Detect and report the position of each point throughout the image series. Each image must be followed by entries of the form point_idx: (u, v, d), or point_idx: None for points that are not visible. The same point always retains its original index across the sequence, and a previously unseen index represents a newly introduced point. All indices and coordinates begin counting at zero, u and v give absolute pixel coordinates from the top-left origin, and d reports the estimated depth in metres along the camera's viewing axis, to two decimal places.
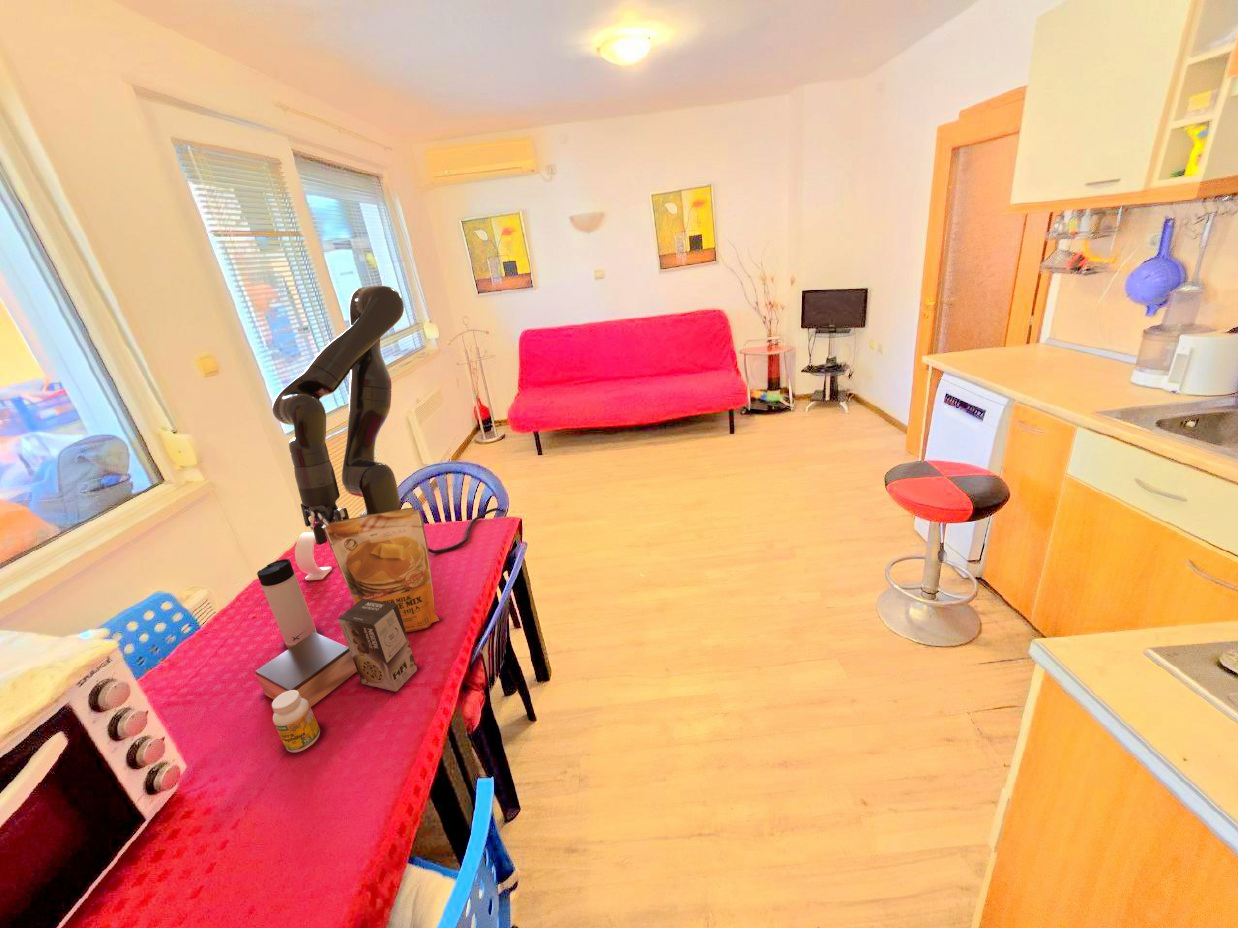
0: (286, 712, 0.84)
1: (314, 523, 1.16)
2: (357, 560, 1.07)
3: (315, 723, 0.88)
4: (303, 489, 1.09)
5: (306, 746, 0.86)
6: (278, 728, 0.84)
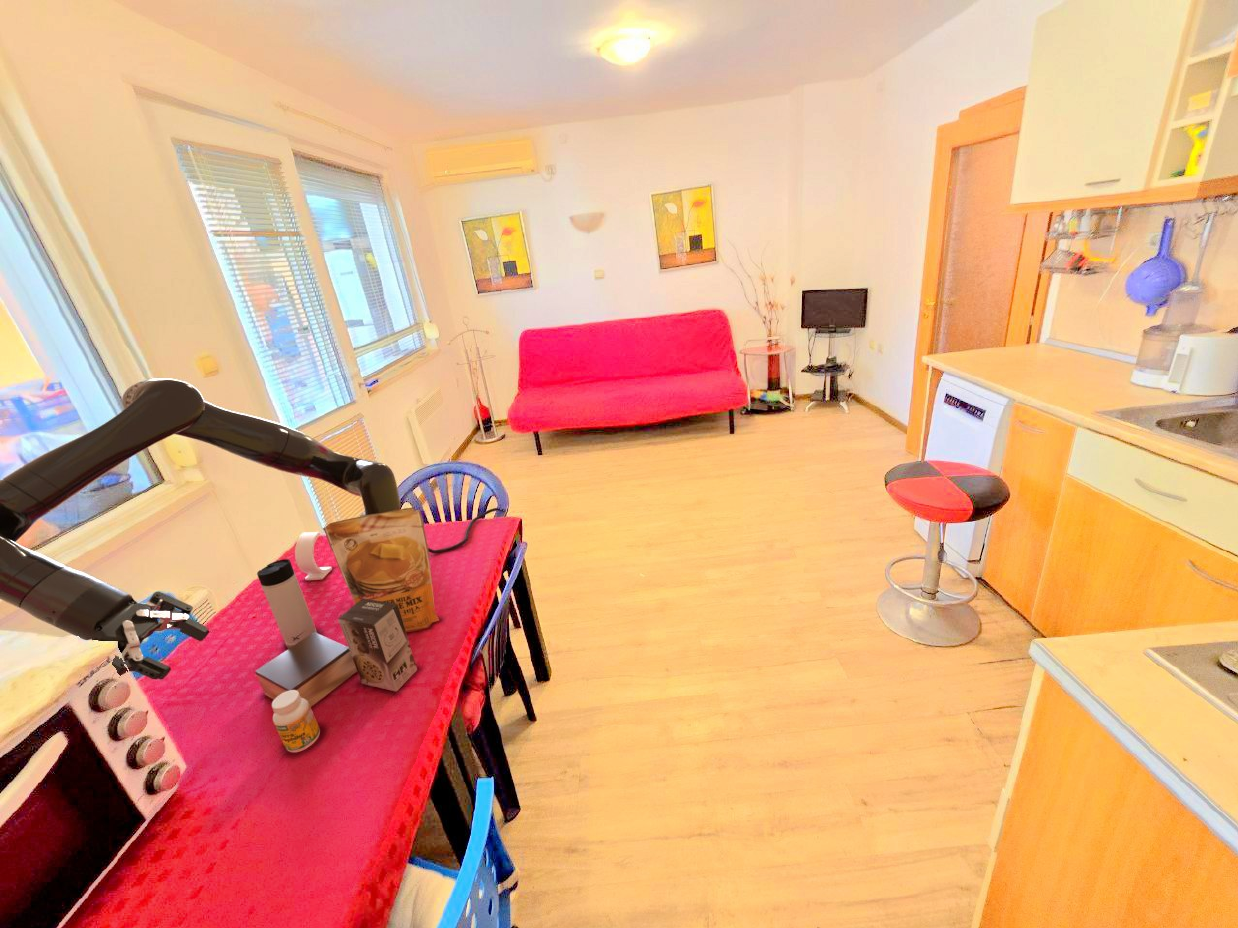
0: (286, 712, 0.84)
1: (158, 629, 0.81)
2: (357, 560, 1.07)
3: (315, 723, 0.88)
4: None
5: (306, 746, 0.86)
6: (278, 728, 0.84)
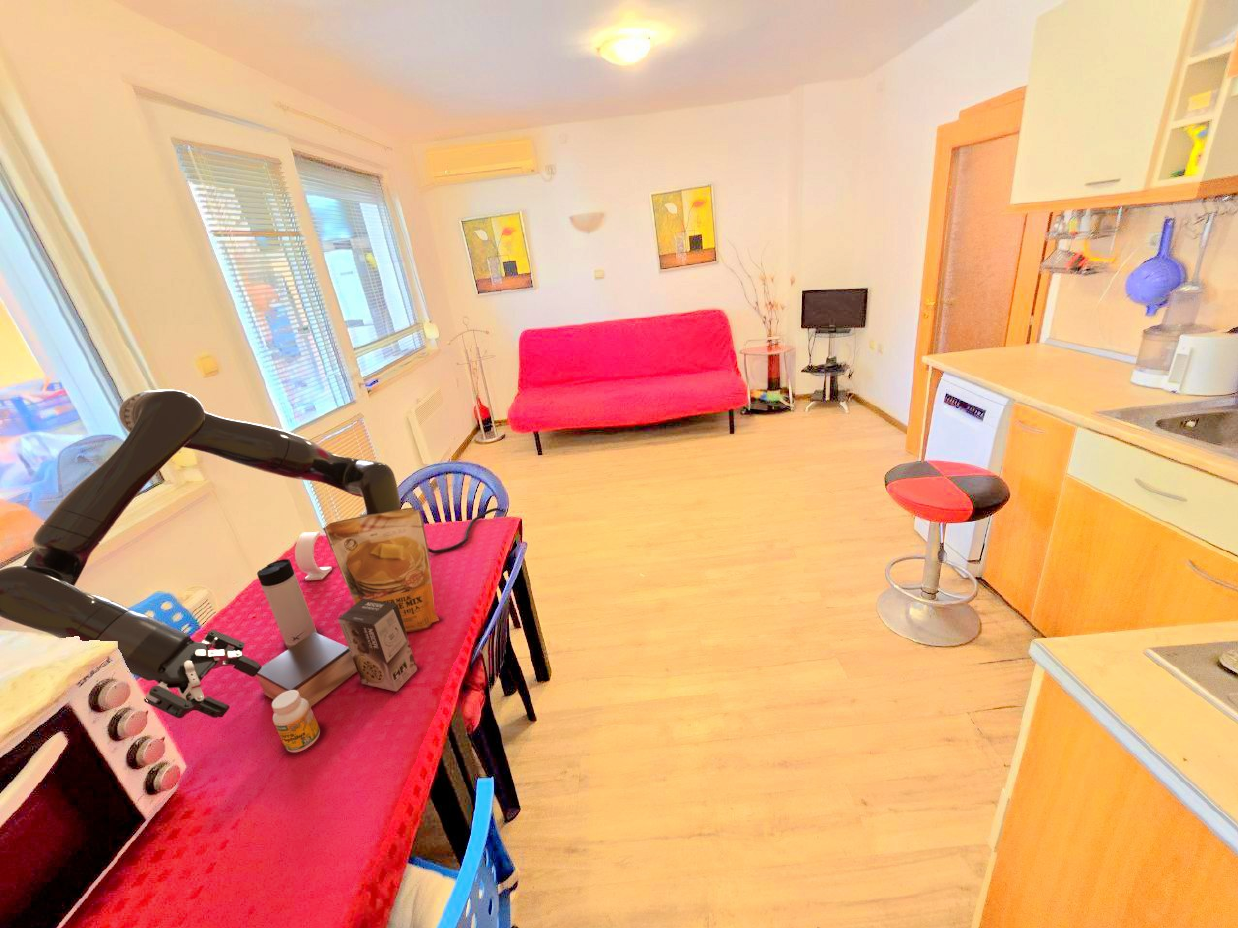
0: (286, 712, 0.84)
1: (214, 667, 0.85)
2: (357, 560, 1.07)
3: (315, 723, 0.88)
4: None
5: (306, 746, 0.86)
6: (278, 728, 0.84)
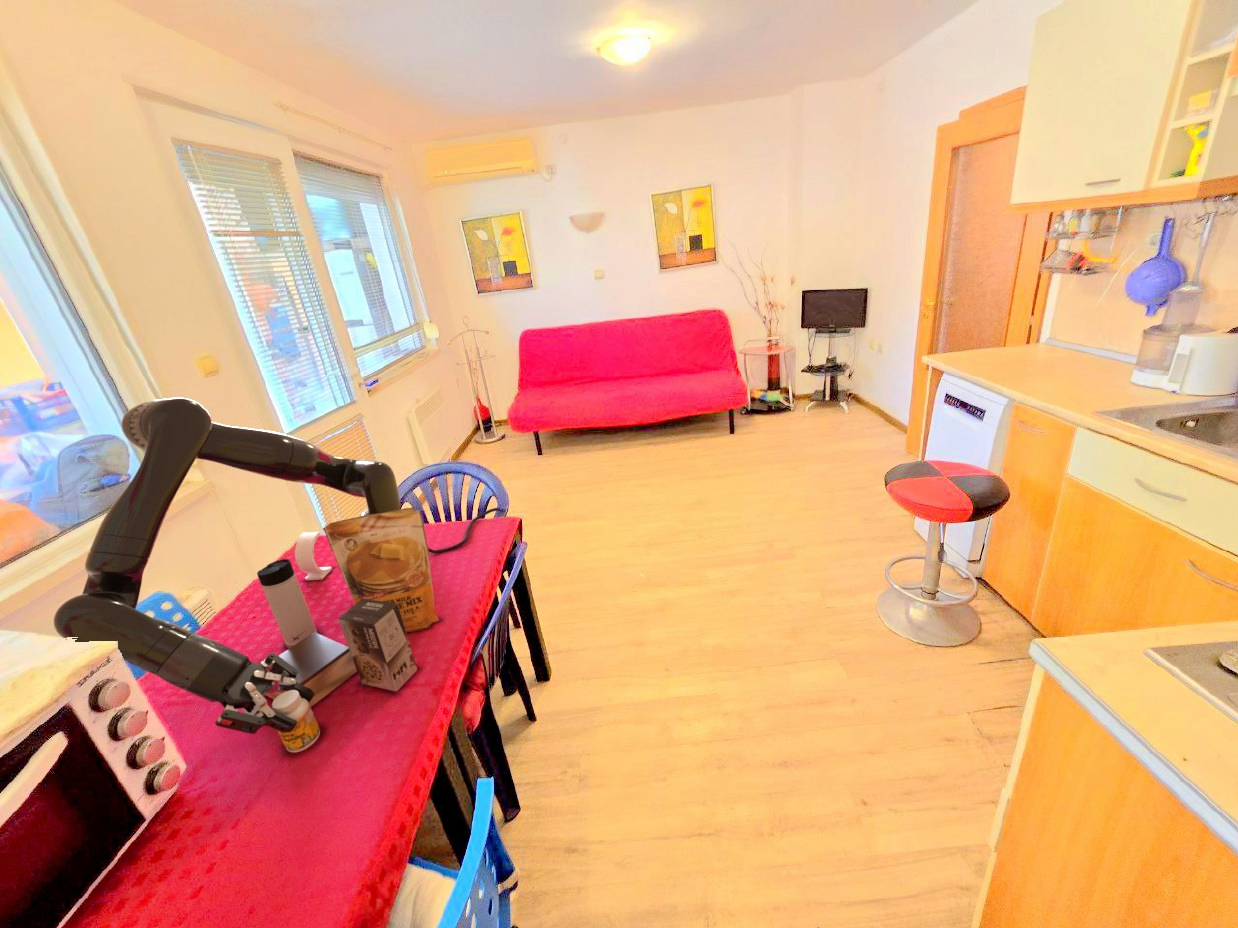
0: (287, 712, 0.84)
1: (269, 691, 0.86)
2: (357, 560, 1.07)
3: (315, 723, 0.88)
4: None
5: (306, 746, 0.86)
6: None
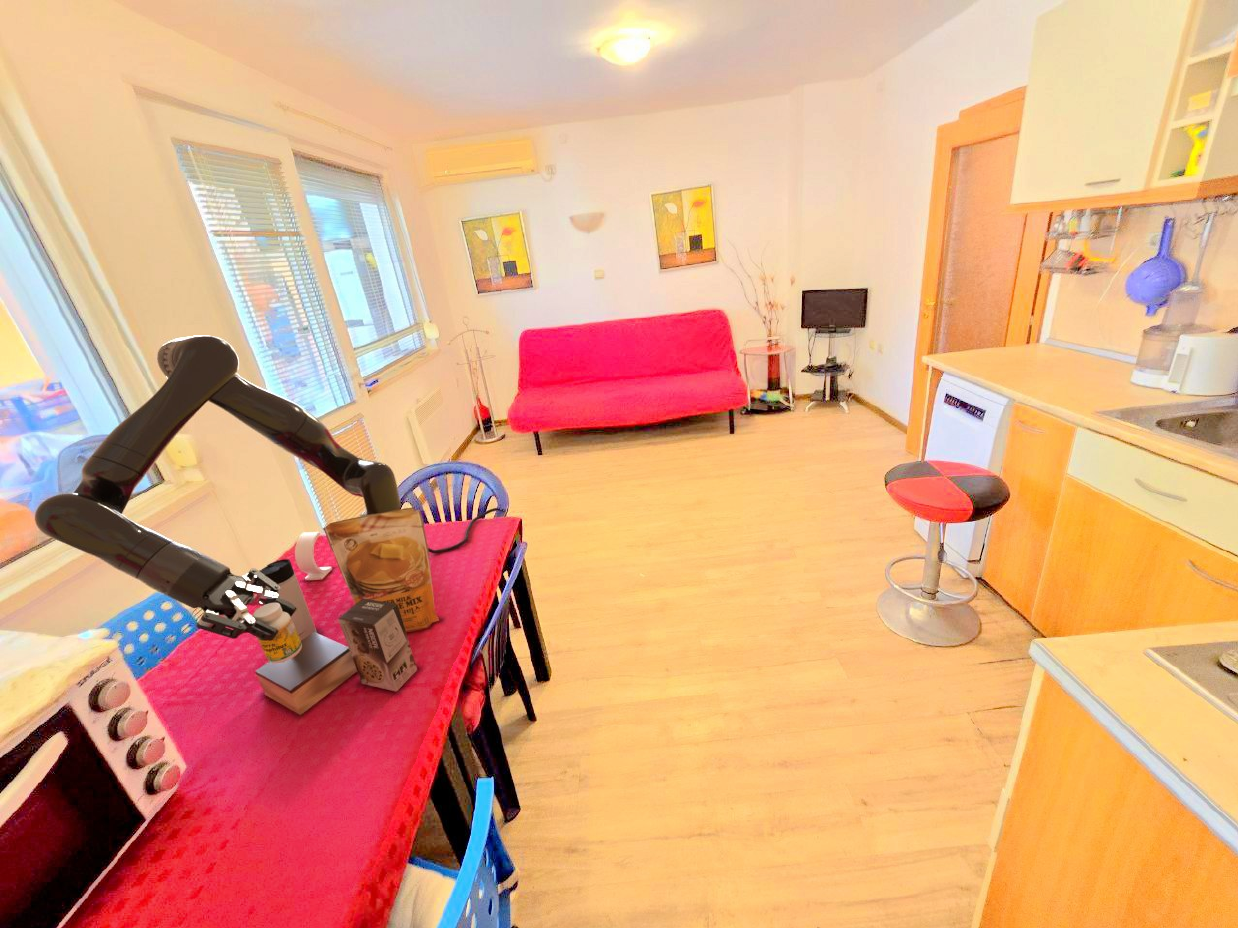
0: (268, 622, 0.85)
1: (251, 604, 0.87)
2: (357, 560, 1.07)
3: (297, 636, 0.89)
4: None
5: (288, 657, 0.87)
6: None
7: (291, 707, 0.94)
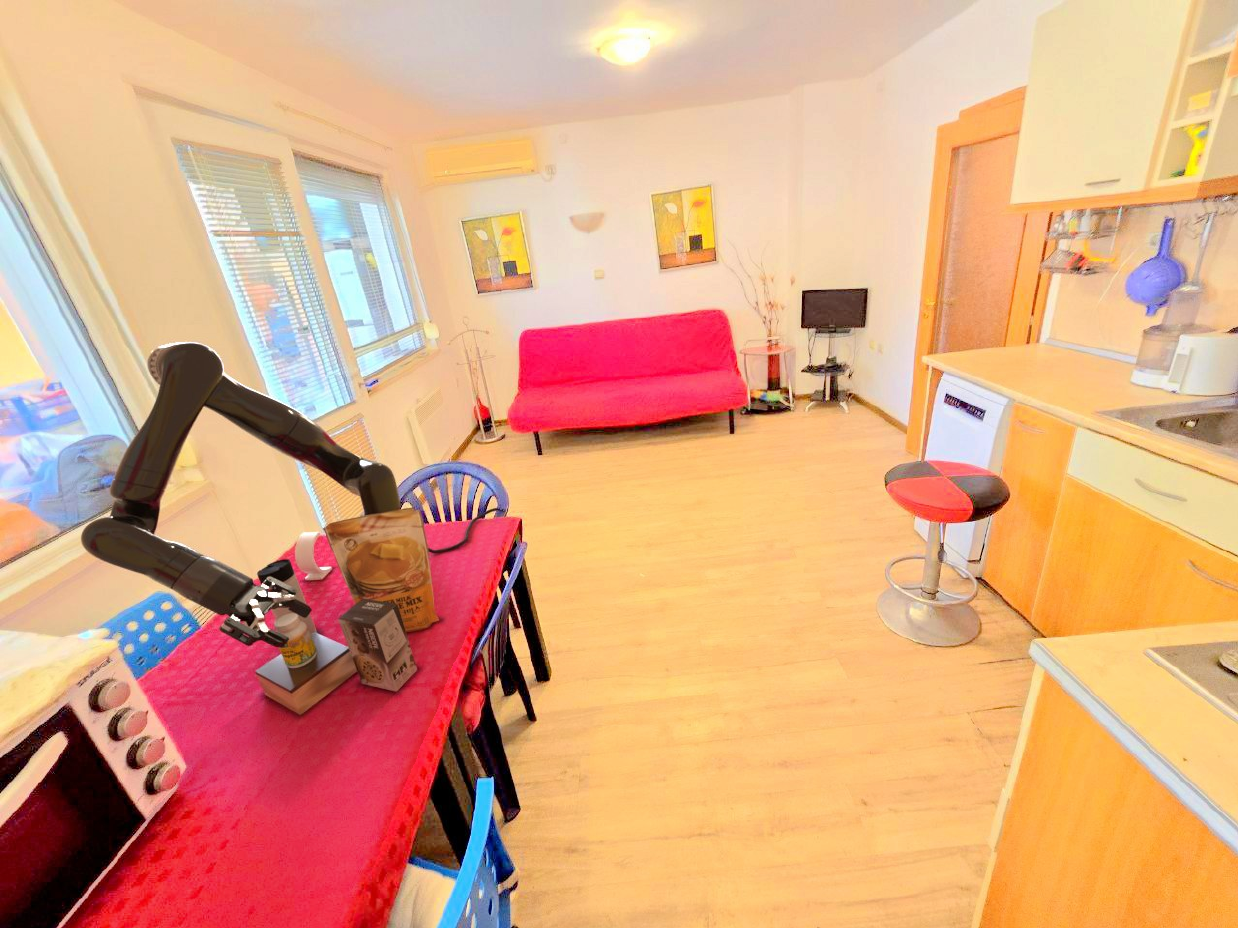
0: (287, 631, 0.94)
1: (272, 608, 0.97)
2: (357, 560, 1.07)
3: (312, 644, 0.98)
4: None
5: (304, 663, 0.97)
6: None
7: (291, 707, 0.94)
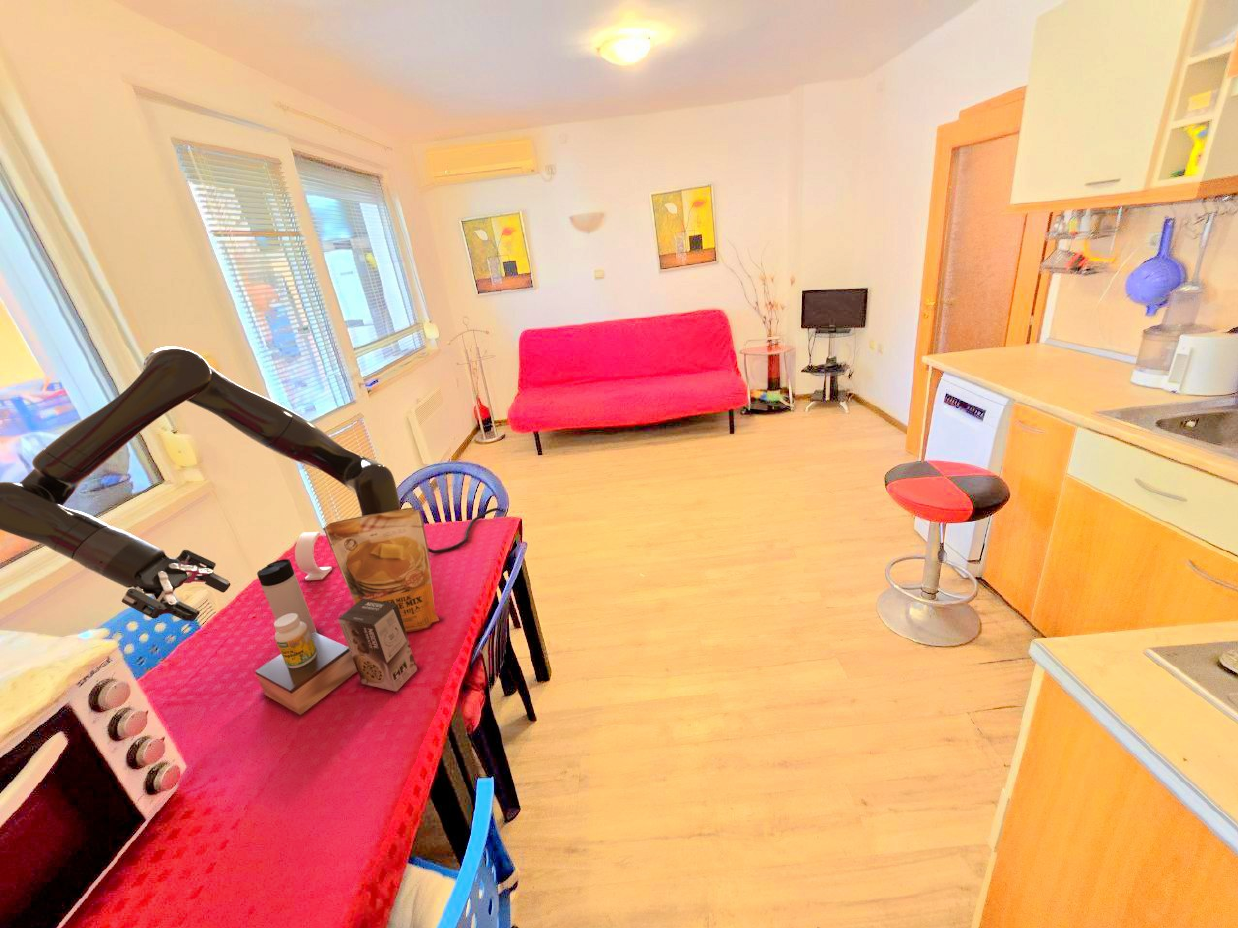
0: (287, 631, 0.94)
1: (187, 581, 0.94)
2: (357, 560, 1.07)
3: (312, 644, 0.98)
4: None
5: (304, 663, 0.97)
6: (279, 645, 0.94)
7: (291, 707, 0.94)
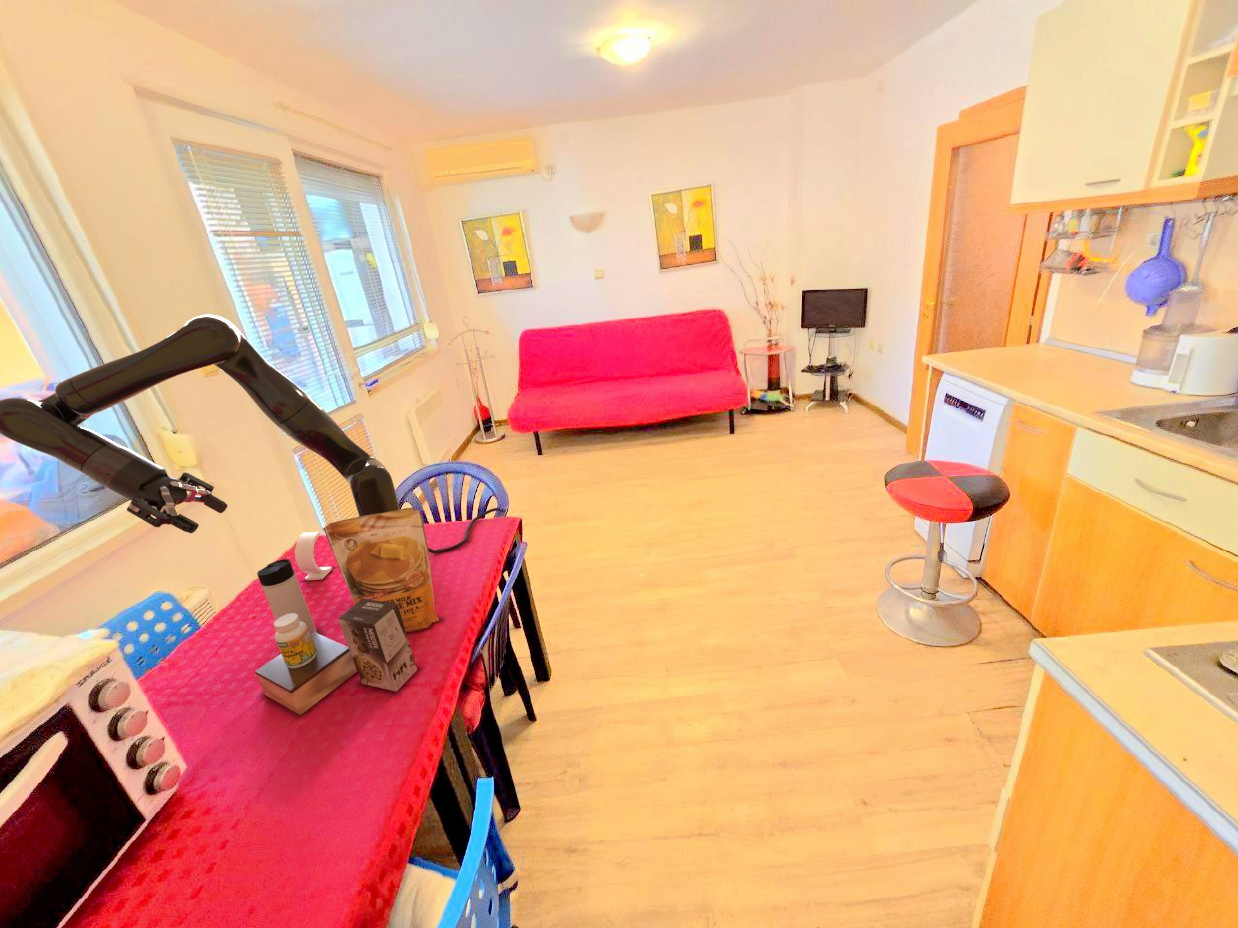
0: (287, 631, 0.94)
1: (187, 501, 1.01)
2: (357, 560, 1.07)
3: (312, 644, 0.98)
4: None
5: (304, 663, 0.97)
6: (279, 645, 0.94)
7: (291, 707, 0.94)
